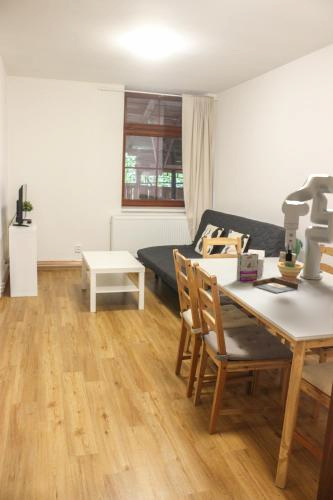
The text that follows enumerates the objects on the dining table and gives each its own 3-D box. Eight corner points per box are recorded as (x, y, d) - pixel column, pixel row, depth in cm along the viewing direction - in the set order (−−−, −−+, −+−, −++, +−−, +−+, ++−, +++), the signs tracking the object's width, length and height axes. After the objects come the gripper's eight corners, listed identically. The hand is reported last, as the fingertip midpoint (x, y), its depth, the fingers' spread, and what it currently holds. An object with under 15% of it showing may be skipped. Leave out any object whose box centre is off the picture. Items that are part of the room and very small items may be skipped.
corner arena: (273, 282, 253) (273, 277, 252) (297, 289, 240) (298, 283, 239) (252, 286, 242) (252, 281, 242) (276, 293, 229) (277, 288, 228)
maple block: (293, 262, 235) (295, 253, 234) (294, 264, 231) (296, 255, 230) (278, 260, 236) (280, 251, 235) (279, 261, 233) (280, 252, 231)
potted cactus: (303, 282, 256) (307, 240, 251) (276, 279, 259) (280, 238, 254) (301, 275, 270) (304, 236, 266) (275, 274, 273) (278, 234, 269)
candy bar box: (253, 279, 257) (255, 252, 254) (257, 281, 253) (259, 253, 250) (235, 280, 254) (237, 252, 251) (239, 282, 250) (241, 254, 247)
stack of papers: (247, 264, 299) (248, 249, 297) (263, 266, 296) (264, 250, 294) (244, 275, 268) (245, 258, 266) (262, 276, 266) (263, 259, 264)
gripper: (299, 228, 221) (296, 263, 225) (297, 224, 237) (294, 257, 241) (284, 228, 223) (281, 262, 226) (282, 223, 239) (280, 256, 242)
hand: (288, 259), depth 233 cm, fingers closed on maple block, 4 cm apart
